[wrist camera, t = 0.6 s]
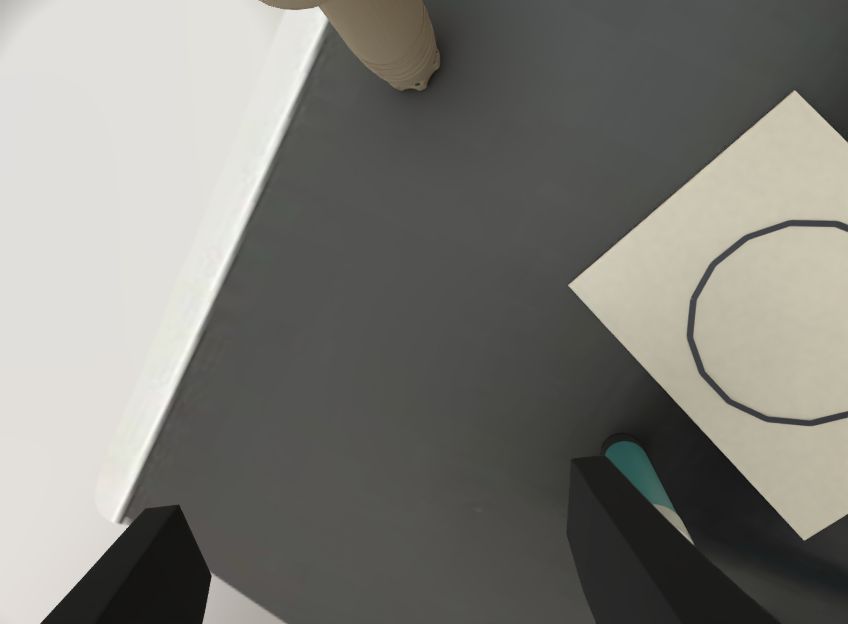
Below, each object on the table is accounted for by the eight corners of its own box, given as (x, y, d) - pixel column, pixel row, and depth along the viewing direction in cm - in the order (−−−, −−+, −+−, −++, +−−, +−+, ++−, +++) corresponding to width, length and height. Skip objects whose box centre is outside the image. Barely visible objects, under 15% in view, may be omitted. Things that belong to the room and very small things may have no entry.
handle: (370, 123, 30) (204, -4, 15) (375, 5, 29) (207, -247, 14) (451, 124, 29) (357, -12, 14) (459, 2, 28) (369, -274, 13)
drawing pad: (1072, 370, 24) (1081, 371, 23) (801, 537, 27) (805, 541, 26) (792, 92, 25) (796, 89, 24) (567, 285, 28) (568, 285, 28)
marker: (653, 455, 28) (711, 561, 18) (619, 480, 29) (658, 594, 19) (624, 424, 28) (666, 512, 19) (591, 448, 29) (615, 546, 19)
